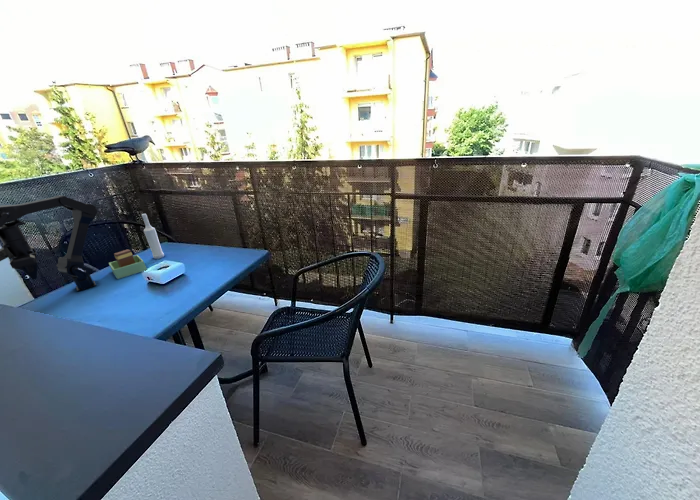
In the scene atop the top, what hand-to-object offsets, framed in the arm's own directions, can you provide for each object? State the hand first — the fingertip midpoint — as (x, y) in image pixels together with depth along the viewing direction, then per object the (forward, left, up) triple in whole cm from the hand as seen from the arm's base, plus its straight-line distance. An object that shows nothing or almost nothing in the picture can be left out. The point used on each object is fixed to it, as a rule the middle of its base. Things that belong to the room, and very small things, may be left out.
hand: (34, 275), depth 108 cm
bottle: (-15, +44, -13) cm, 48 cm away
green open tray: (-8, +29, -13) cm, 33 cm away
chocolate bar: (-8, +29, -12) cm, 33 cm away
